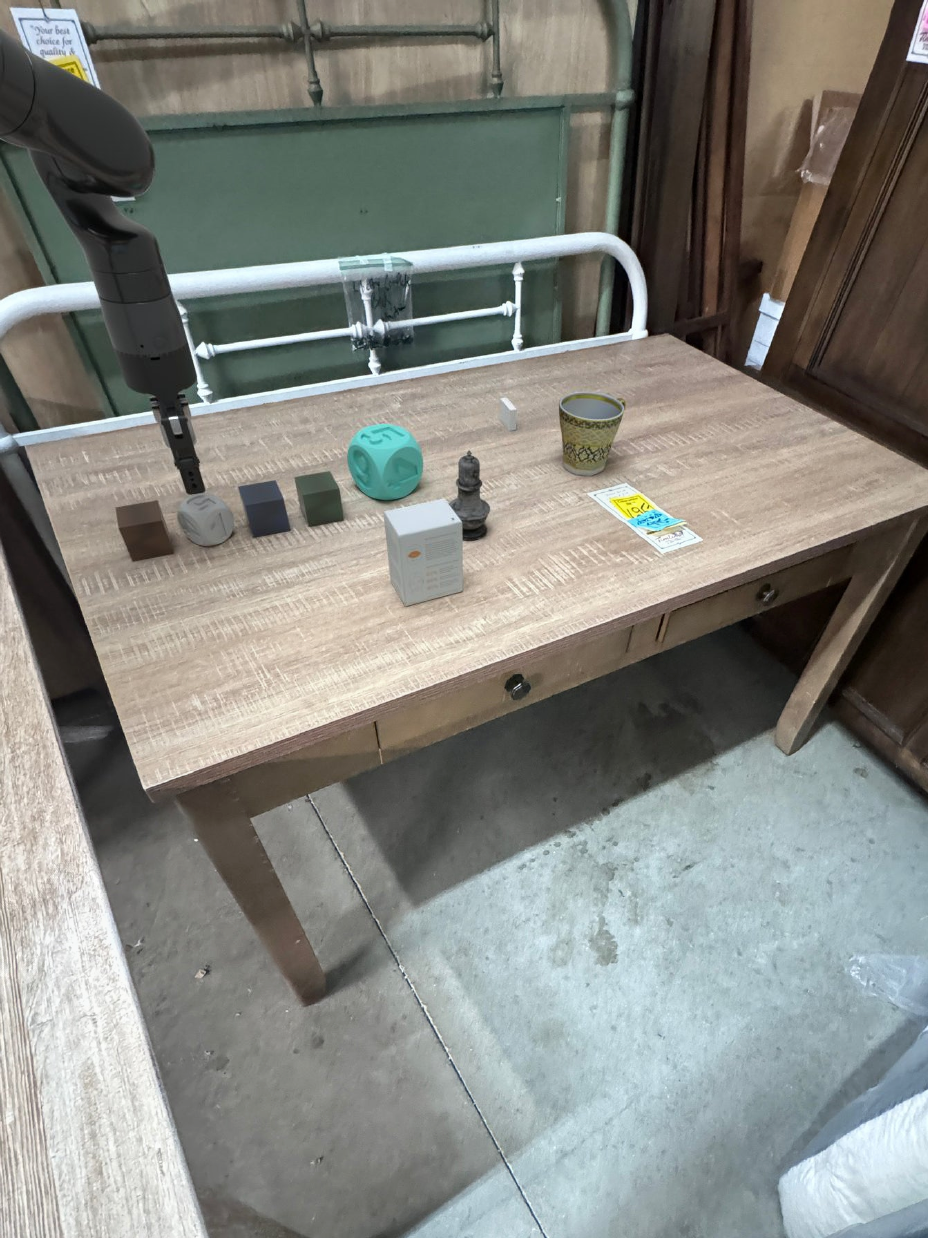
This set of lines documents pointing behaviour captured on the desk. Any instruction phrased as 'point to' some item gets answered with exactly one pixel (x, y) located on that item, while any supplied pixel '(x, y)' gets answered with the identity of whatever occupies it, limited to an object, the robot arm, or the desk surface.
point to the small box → (424, 551)
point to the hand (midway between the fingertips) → (191, 475)
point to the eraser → (508, 414)
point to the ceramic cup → (588, 430)
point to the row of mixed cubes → (261, 508)
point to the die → (205, 519)
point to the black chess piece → (470, 499)
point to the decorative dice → (385, 461)
